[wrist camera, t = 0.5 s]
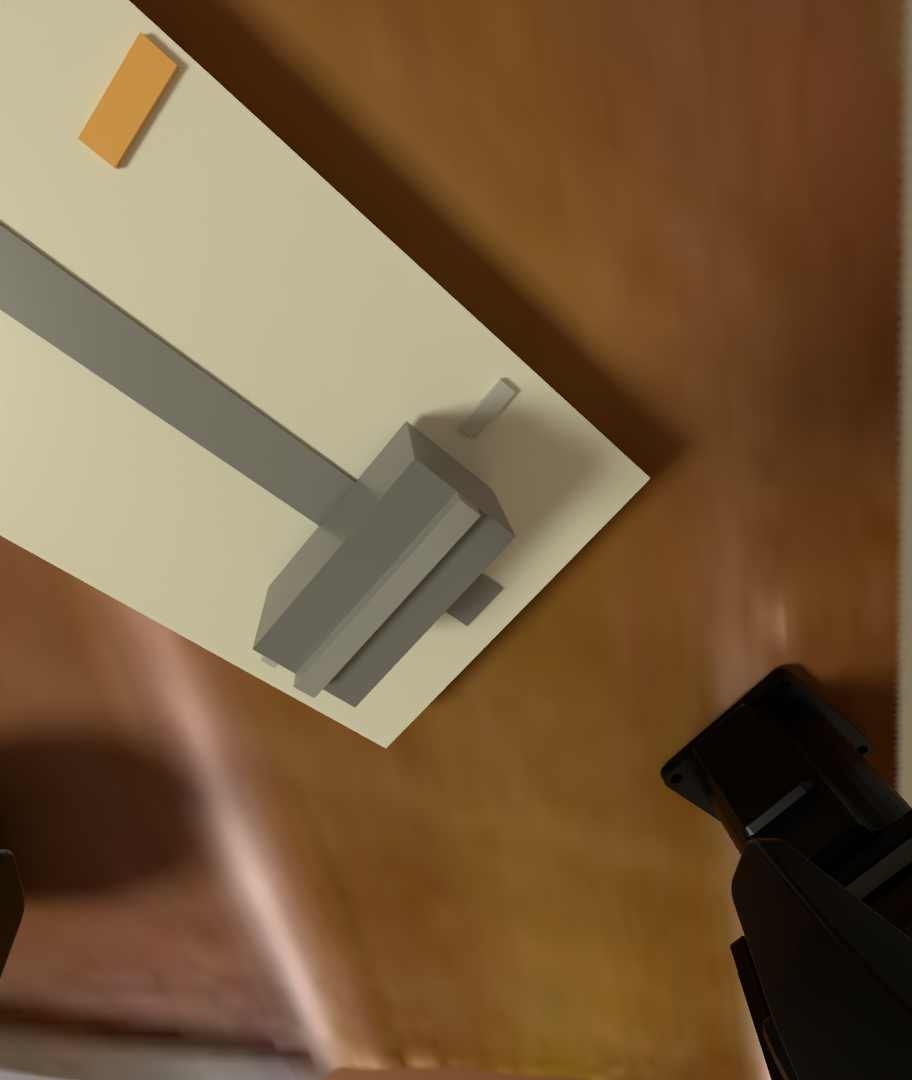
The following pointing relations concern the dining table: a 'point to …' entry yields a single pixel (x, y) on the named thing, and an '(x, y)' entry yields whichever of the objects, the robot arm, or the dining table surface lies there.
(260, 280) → the dimmer console
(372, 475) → the fader cap
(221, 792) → the dining table surface
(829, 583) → the dining table surface
